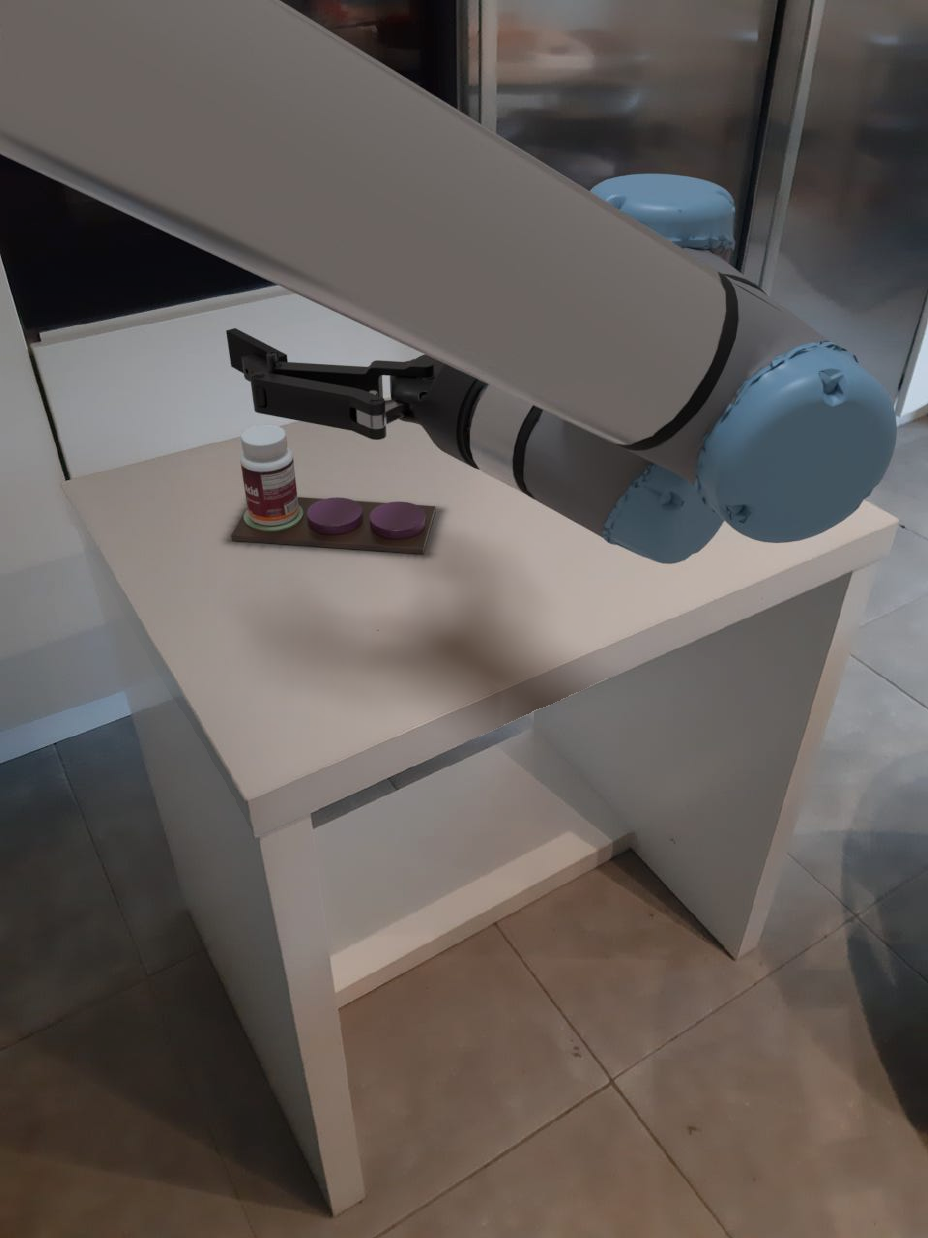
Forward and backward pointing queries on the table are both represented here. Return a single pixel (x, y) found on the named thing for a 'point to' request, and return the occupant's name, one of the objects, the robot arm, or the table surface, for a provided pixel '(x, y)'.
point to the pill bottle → (268, 475)
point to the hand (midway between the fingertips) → (310, 324)
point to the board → (347, 526)
